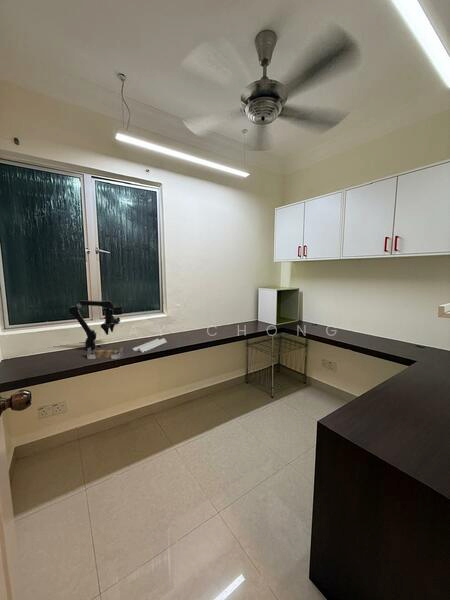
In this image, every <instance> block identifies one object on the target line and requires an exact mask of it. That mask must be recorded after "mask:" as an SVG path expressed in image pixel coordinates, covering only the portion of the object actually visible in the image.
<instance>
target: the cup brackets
mask: <svg viewBox="0 0 450 600" xmlns="http://www.w3.org/2000/svg"><path fill="white" fill-rule="evenodd" d="M123 348H124V347H122V346H121V347H119V350H118V354H112V355H111V358H110V359H112V360H113V359H116V360H117V359H120V358H122V357H123V356H124V351H123V350H124V349H123ZM87 359H89V360H92V359H95V360H96V359H97V357H96V354H93V352H92V350H91V347H89V348H88V350H87Z"/></svg>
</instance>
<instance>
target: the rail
mask: <svg viewBox="0 0 450 600" xmlns="http://www.w3.org/2000/svg"><path fill="white" fill-rule="evenodd" d="M118 351H119V349H94V350H91V352H93V354H96V359H97V358H101V359H103V358H104V359H107V358H109V359H111V355H112V354H118Z"/></svg>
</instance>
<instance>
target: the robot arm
mask: <svg viewBox="0 0 450 600" xmlns="http://www.w3.org/2000/svg"><path fill="white" fill-rule="evenodd" d="M83 306H90V307H91V306H92V307H102V311H103V312H104V318H103V319H105V321H104V323H102V324H101V325H100V328H101V329H102V330H103V331H104V334H106V336H109V333H110V332H111V333H113V332H114V328H115V326H116V325H118V324H120V322H121V318H120V317H115V316H120V315H123V313H122V311H123V310H122V306H115V305H113V302H112V301H111V300H109V299H108V300H107V299H106V300H99V301H98V300H84V299H81V300H80V301H79V302H78V303H76V304H75V305H71V306H70V308H69V309H68V312H69V314H71V316H73V317H74V318H75V319H76V320H77V322H78V323H79V324H80V326H81V327H82V329H83V331H84V333H86V339H85V342H84V345H85V346H84V347H85V349H84V351H88V348H89V347H91V351H94V350H96V348H97V347H96V342H95V341H96V339H97V332H96V331H95V329H91V328H90V326H89V325H88V323H87V322H86V320H85V319H84V317H83V316H82V314H81V312H80V309H81V308H82V307H83ZM113 315H114V316H113ZM109 329H110V332H109Z"/></svg>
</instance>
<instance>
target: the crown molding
mask: <svg viewBox="0 0 450 600" xmlns="http://www.w3.org/2000/svg"><path fill="white" fill-rule="evenodd" d="M167 342H168V341H167V340H166V339H165V338H161V339H159V338H156V339H154V340H151V341H148V342H145V343H144V344H141V345H138V346H136V347H133V348H132V349H131V350H132V351H134V352H140V353H145V352H147V351H149V350H152V349H155V348H156V347H159V346H160V345H164V344H166V343H167ZM144 351H145V352H144Z"/></svg>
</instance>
